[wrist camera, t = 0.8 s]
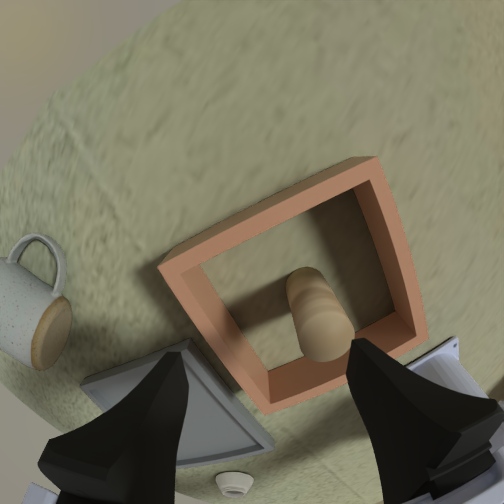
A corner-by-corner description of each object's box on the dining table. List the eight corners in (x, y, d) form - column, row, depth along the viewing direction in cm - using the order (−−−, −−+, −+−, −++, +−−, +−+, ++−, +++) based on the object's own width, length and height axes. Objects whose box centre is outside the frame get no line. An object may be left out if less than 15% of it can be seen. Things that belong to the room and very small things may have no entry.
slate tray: (274, 439, 27) (274, 449, 25) (173, 460, 28) (171, 469, 27) (190, 338, 22) (187, 348, 21) (85, 377, 24) (79, 386, 23)
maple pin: (330, 293, 21) (360, 346, 14) (295, 310, 22) (311, 369, 15) (316, 260, 20) (344, 305, 14) (278, 278, 21) (290, 331, 14)
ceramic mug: (74, 346, 23) (36, 395, 16) (16, 309, 22) (-28, 345, 15) (89, 250, 20) (31, 287, 13) (22, 215, 19) (-38, 236, 12)
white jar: (257, 482, 30) (247, 467, 29) (257, 498, 28) (247, 485, 26) (223, 484, 31) (210, 470, 29) (221, 500, 28) (208, 487, 26)
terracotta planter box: (407, 314, 22) (429, 338, 18) (262, 382, 24) (264, 415, 20) (353, 156, 18) (377, 156, 14) (173, 247, 20) (157, 267, 16)
